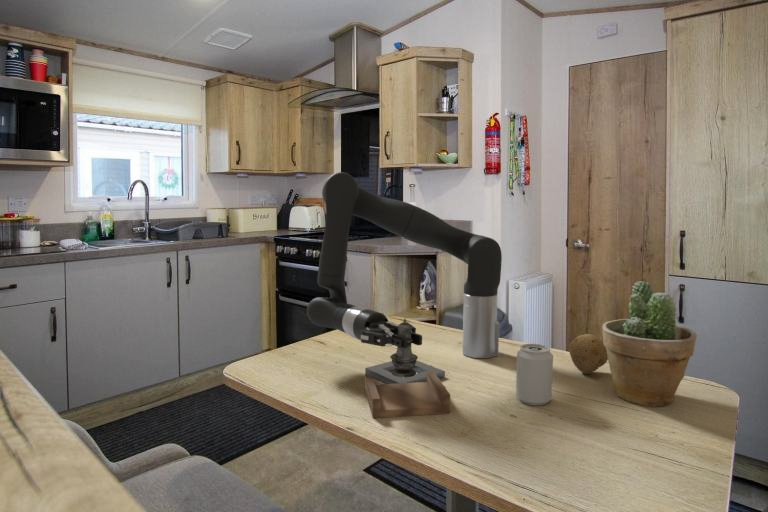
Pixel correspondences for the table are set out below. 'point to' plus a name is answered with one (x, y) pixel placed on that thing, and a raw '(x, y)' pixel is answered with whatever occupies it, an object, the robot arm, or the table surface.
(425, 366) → the socket frame
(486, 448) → the table surface
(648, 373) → the potted plant
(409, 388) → the brown piece
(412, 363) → the salt shaker
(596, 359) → the natural sponge
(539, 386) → the can
